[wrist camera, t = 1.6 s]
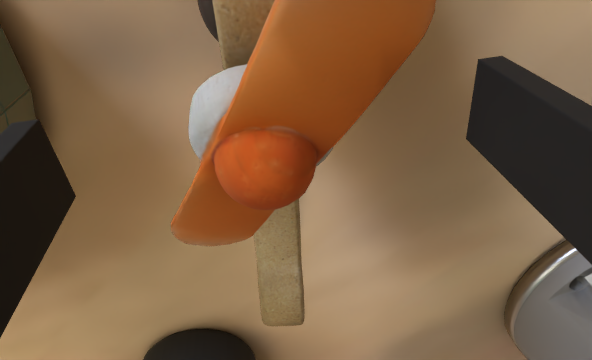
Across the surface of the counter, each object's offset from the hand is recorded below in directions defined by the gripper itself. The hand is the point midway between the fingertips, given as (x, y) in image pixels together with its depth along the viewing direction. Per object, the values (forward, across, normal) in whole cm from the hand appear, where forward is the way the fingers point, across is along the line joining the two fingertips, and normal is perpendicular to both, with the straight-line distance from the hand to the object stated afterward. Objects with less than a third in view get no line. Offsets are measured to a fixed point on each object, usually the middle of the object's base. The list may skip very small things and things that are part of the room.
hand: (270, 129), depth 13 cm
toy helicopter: (+9, 0, 0) cm, 9 cm away
